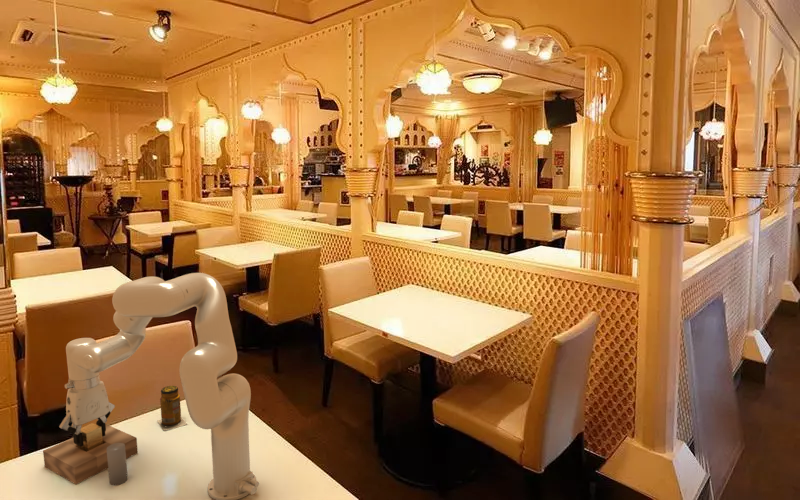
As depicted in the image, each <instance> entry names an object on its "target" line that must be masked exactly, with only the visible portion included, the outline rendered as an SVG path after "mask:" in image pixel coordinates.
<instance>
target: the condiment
mask: <svg viewBox="0 0 800 500" xmlns="http://www.w3.org/2000/svg"><path fill="white" fill-rule="evenodd" d="M159 403H160V416H161V417H160V418H161V419H158V420H157V421H156V422H157V424H158V425H159V426H160V428H161V429H162V430H163V431H168V430H169V431H170V430H173V429H176V428H179V427H183V426H185V425H187V423H186V421H185V420H184V418H183V417H182V410H181V409H182V407H181V395H180V394H179V388H178V386H176V385H167V386H165V387H164V386H163V388H161V390H160V399H159Z"/></svg>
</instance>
